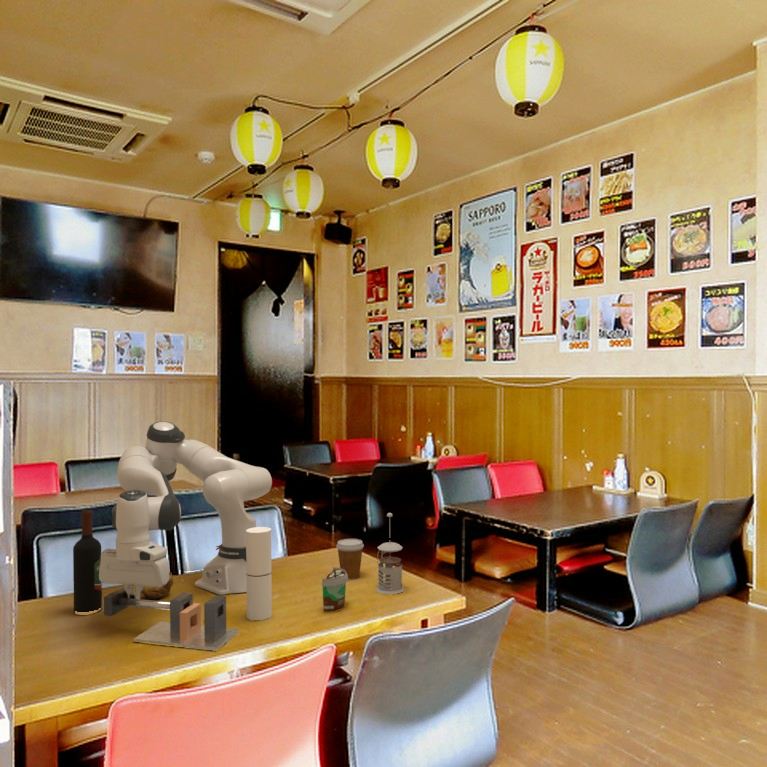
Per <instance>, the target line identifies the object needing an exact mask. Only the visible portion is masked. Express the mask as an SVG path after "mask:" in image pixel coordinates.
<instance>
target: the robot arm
mask: <svg viewBox="0 0 767 767" xmlns="http://www.w3.org/2000/svg"><path fill="white" fill-rule="evenodd" d="M185 437H186V435H185V433H184V432H183V431H181V429H180V428H179V426H177V425H175V424H174V423H173V422H170V421H157V422H154V423H151V424H150V425H149V426H148V429H147V431H146V440H145V447H144V446H141V445H131V446H130V447H128V448H126V449H125V450H124V451H123V453H122V454H121V456H120V459H119V461H118V466H117V471H116V472H117V474H116V475H117V480H118V485H120V487H121V488H122V489H123V490H124V491H123V492H121V493H119V494H118V497H117V501H116V504H115V505H114V506H112V509H111V517H112V521H111V522H112V523H111V524H112V525H111V527H112V528H113V529H115V531H117V532H116V534H117V535H116V538H115V548H105V549H104V550H103V551H101V563H100V570H99V580H100V581H101V582H102V583H103V584H114V585H123V587H124V589H125V591H126V593H127V594H128V598H130V599H140V593H141V591H142V589H143V587H144V586H151V587H162V586H164V585H165V584H167V582H168V581H169V572H170V569H169V568H170V567H169V561H168V559H167V558H166V557H165V556H166V555H167V554H168V552H167V551H168V550H167V548H166V547H164V546H162V545H160V544H157V543H155V542H154V541H153V540H152V541H151V535H150V531H171V530H173V529H174V528H175V527H177V525H178V524H179V523H180V522H181V518H182V508H181V504H180V502H179V500H178V498H177V497H176V494H175V493H174V491H173V488H172V487H171V484H170V481H171V480H173V479H174V478H175V476H176V473H177V470H178V469H177V465H178V464H180V465H182V466H183V467H184V468H185V469H186V471H188V472H189V473H191V474H192V475H193V476H194V477H196V478H198V479H199V480H201V481H202V482H203V484H202V494H203V497H204V500H206V502H207V503H208V504H209V505H211V506H212V507H213V508H214V509H215V511H216V512H217V514H218V517H219V520H220V526H221V543H220V545H216V546H215V550H216V551H217V550H218V552H217V555H216V556H215V557H213V559H211V560H210V561H209V562H207V563H206V564H205V565H204V567H203V568H202V575H201V576H202V577H201V578H199V579H198V580H196V581H195V582H194V586H195V587H197V588H200V589H203V590H205V591H209V592H211V593H213V594H216V595H218V596H223V595H227V594H228V595H229V594H238V593H247V579H246V530H247V529H249V528H254V527H257V522H256V518H255V517H254V516H253V515H252V514H250V513H248V512H247V511H246V508H245V505H244V504H245V502H247V501H252V500H256V499H258V498H261V497H263V496H265V495H267V494H268V493H270V491H271V488H272V485H273V479H272V476H271V473H270V472H269V470H268V469H267V468H264V467H261V466H255V465H251V464H248V463H245V462H243V461H240V460H236V459H233V458H231V457H228V456H226V455H225V454H223V453H221V452H220V451H217V450H216V449H215V448H213V447H212V446H210V445H208V444H206V443H204V442H202V441H199V440H196V439H192V438H191V439H185ZM148 495H152V496H148ZM133 586H134V589H137V590H136V592H134V591H133V590H134V589H133Z"/></svg>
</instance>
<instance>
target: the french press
mask: <svg viewBox="0 0 767 767" xmlns="http://www.w3.org/2000/svg"><path fill="white" fill-rule="evenodd" d="M386 517H388V518H389V521H388V522H389V523H388V524H389V532H388V533H389V534H388V536H389V537H391V518H393V513H391V512H388V513H387V514H386ZM377 549H378V552H377V565H378V567H377V568H378V570H377V571H378V574H377V575H378V578H377V579H378V586H377V587H376V588H375V590H376V591H377V592H376V593H378V592H379V593H378V594H380V593H382V594H381V595H385V594H395V595H397V594H396V593H400V592H402V591H404V588H405V587H404V586H403V563H401V561H402V559H401V558H399V557H395V556H384V557H383V555H384V554H386V553H395V552H400V551H402V549H403V546H402V545H400V544H399V543H397V542H393V541H389V542H383V543H381V544H380V545H379V546H377ZM380 551H381V558H379V553H380ZM394 566H395V567H394ZM404 592H405V591H404ZM400 594H401V593H400Z"/></svg>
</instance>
